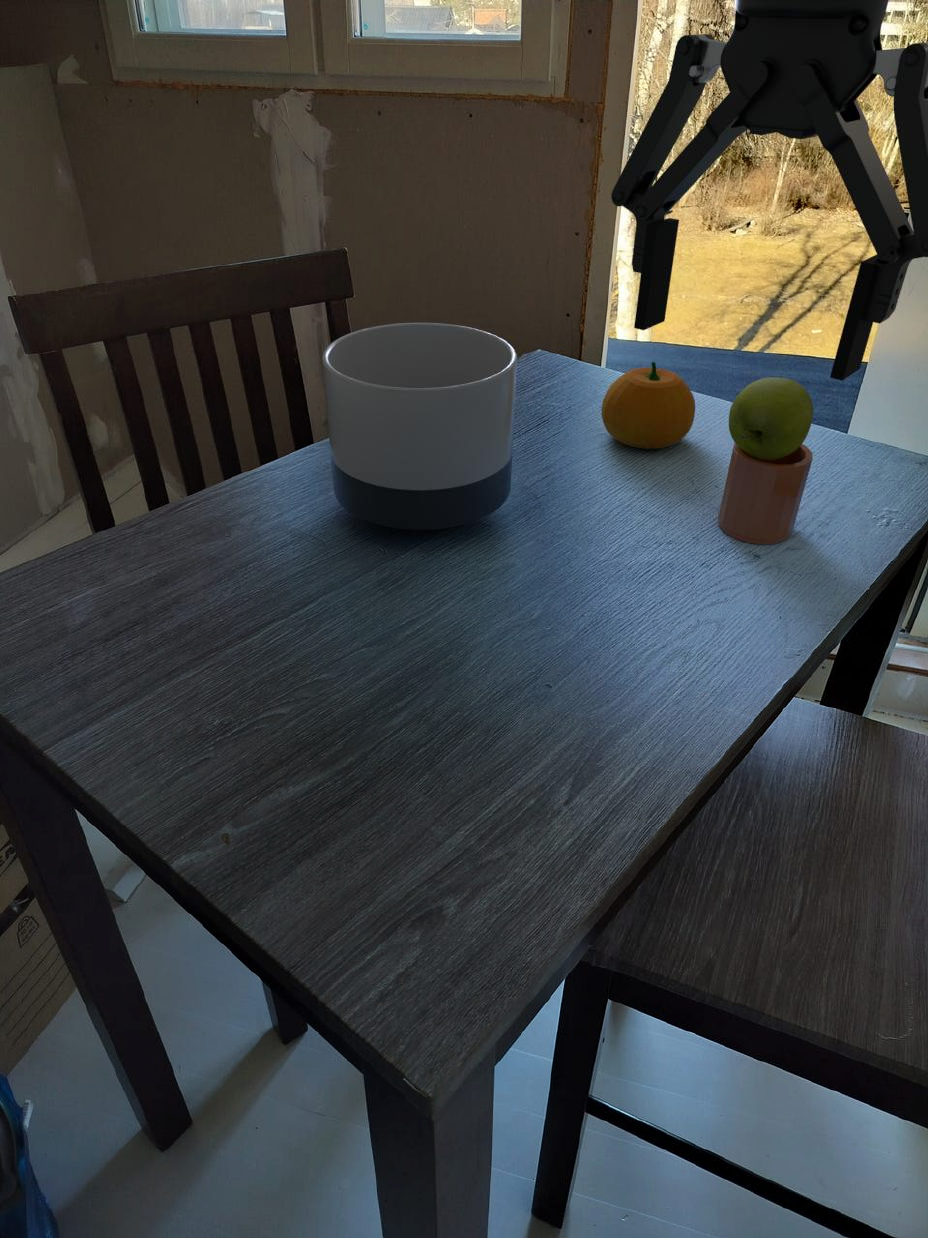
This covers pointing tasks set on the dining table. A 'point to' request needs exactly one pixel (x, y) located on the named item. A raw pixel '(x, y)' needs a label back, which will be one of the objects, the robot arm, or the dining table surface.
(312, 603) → the dining table surface
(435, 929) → the dining table surface
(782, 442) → the apple
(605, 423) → the fruit
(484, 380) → the planter
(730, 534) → the cup
